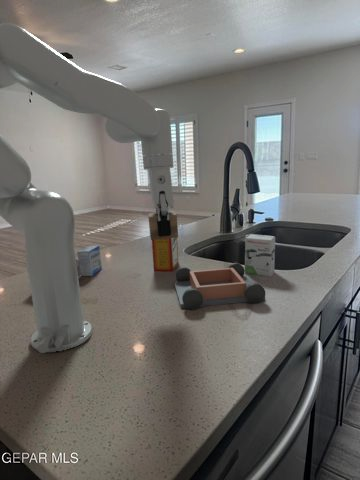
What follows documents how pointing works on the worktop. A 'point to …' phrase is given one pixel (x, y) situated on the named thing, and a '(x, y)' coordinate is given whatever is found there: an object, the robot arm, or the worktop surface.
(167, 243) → the baking soda box
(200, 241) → the worktop surface
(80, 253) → the medicine box
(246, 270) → the ink box
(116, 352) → the worktop surface
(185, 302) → the chassis
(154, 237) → the tan block
